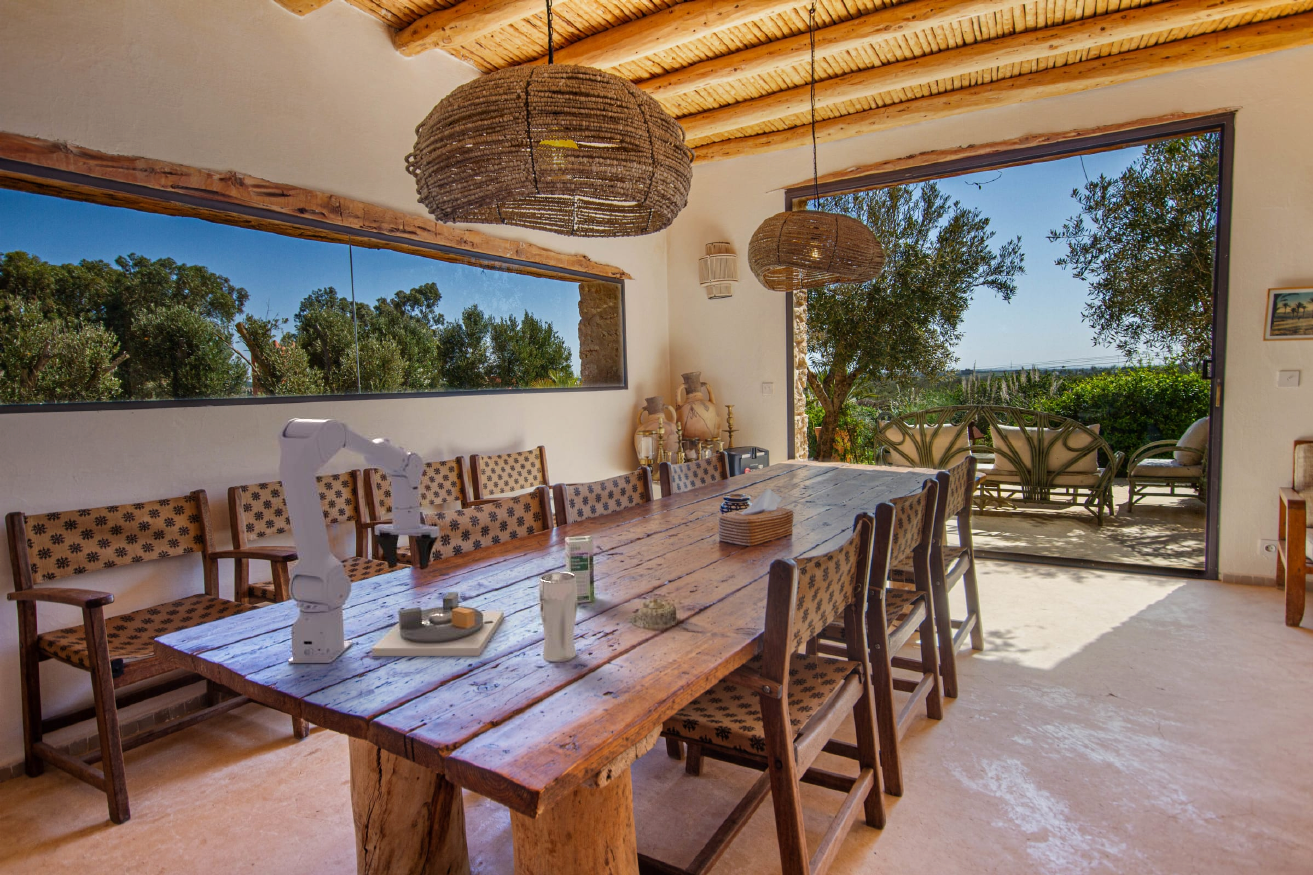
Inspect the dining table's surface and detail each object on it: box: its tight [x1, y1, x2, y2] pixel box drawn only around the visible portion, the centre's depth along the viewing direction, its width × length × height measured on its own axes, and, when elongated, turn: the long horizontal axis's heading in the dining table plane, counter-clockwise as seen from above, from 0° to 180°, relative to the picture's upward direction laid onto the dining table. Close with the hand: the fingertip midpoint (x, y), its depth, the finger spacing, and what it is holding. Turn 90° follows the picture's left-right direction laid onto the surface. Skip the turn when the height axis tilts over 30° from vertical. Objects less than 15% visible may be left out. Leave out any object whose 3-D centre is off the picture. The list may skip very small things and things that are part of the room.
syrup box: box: [564, 535, 595, 604], centre depth 160 cm, size 6×6×14 cm
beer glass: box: [538, 571, 578, 663], centre depth 128 cm, size 7×7×15 cm
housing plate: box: [371, 610, 504, 657], centre depth 139 cm, size 20×20×2 cm
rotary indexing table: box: [398, 591, 483, 643], centre depth 138 cm, size 16×16×5 cm
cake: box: [631, 598, 678, 630], centre depth 146 cm, size 10×10×5 cm
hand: (408, 567), depth 152 cm, fingers open, 7 cm apart
